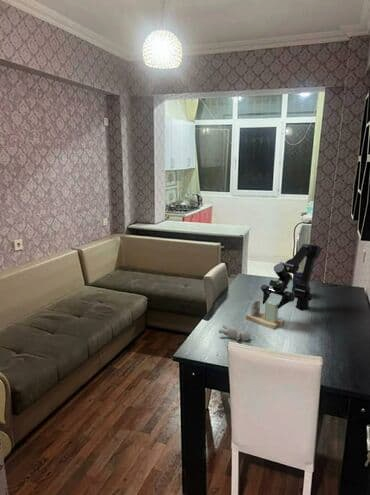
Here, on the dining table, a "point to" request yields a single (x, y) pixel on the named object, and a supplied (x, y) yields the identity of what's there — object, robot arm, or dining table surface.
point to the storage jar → (296, 280)
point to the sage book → (271, 311)
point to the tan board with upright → (261, 316)
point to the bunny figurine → (235, 333)
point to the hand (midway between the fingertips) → (270, 306)
